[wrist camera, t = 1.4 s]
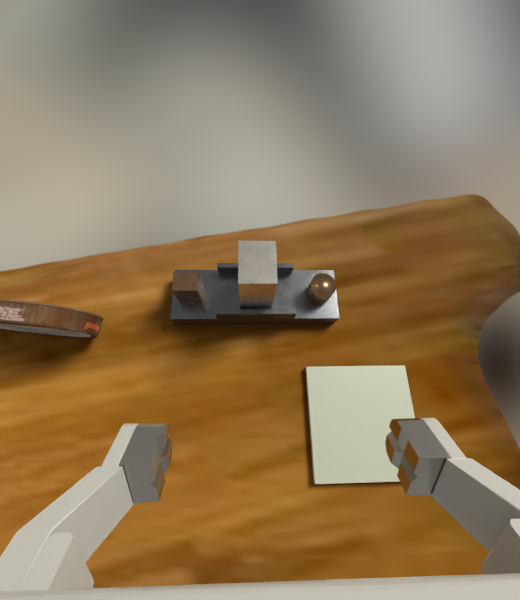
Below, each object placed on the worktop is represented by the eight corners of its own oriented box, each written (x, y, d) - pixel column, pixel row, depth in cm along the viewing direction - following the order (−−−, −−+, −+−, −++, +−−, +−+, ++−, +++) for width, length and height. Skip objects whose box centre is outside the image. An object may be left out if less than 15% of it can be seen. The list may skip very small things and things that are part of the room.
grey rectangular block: (240, 311, 37) (238, 283, 28) (240, 276, 39) (238, 240, 30) (270, 311, 37) (277, 283, 29) (269, 276, 39) (275, 241, 30)
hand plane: (174, 324, 39) (161, 309, 32) (179, 277, 41) (167, 255, 35) (333, 323, 39) (349, 308, 33) (328, 277, 42) (342, 256, 36)
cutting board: (313, 482, 33) (314, 484, 32) (305, 367, 37) (306, 366, 36) (423, 478, 33) (427, 480, 32) (401, 366, 38) (404, 365, 37)
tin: (115, 322, 38) (80, 301, 30) (108, 345, 37) (71, 329, 29) (4, 311, 38) (-59, 286, 30) (-6, 333, 37) (-74, 314, 29)
